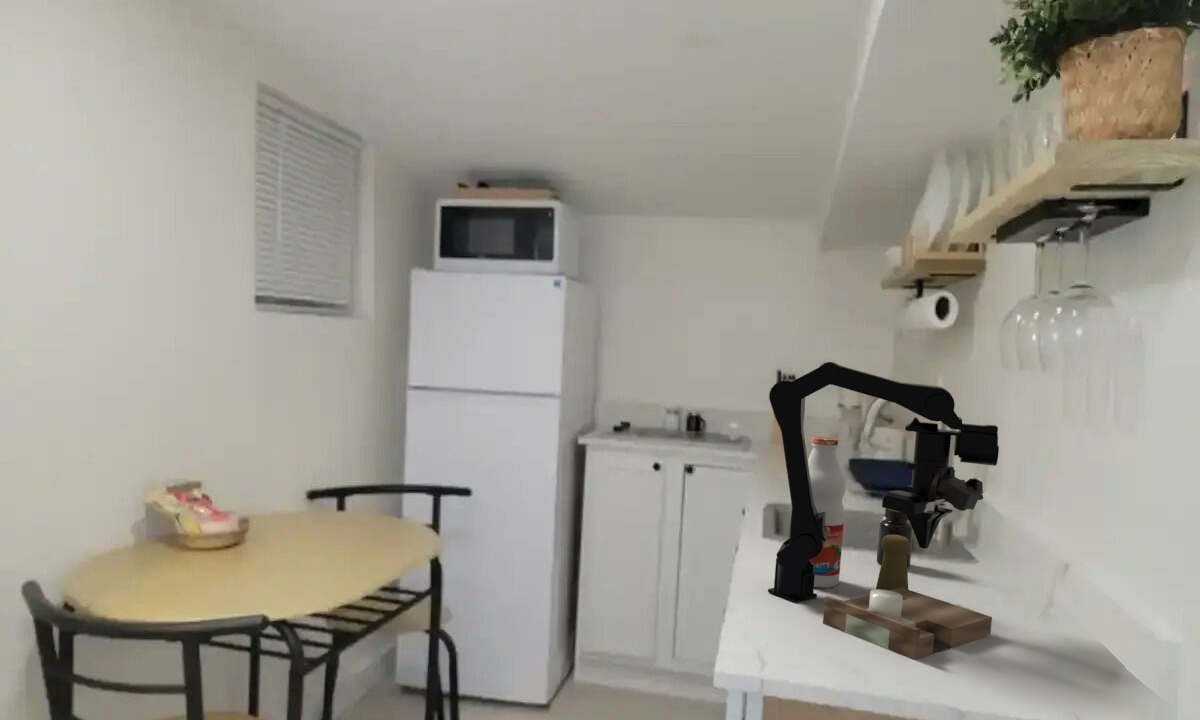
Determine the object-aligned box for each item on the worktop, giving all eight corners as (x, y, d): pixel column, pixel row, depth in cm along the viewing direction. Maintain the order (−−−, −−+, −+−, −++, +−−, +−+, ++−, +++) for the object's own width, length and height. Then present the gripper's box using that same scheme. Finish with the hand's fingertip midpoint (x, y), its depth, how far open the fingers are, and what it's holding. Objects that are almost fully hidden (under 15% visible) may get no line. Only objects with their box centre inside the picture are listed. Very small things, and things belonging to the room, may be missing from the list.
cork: (911, 600, 159) (916, 541, 158) (877, 596, 160) (881, 537, 160) (906, 590, 165) (911, 534, 164) (873, 586, 166) (878, 530, 166)
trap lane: (822, 623, 143) (824, 596, 143) (900, 603, 157) (902, 579, 156) (913, 659, 130) (916, 630, 129) (990, 634, 143) (992, 608, 143)
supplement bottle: (872, 559, 186) (876, 504, 186) (904, 561, 186) (908, 506, 186) (881, 568, 180) (886, 511, 179) (914, 570, 179) (919, 514, 179)
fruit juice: (835, 576, 171) (846, 436, 170) (841, 591, 162) (853, 443, 161) (787, 571, 173) (798, 432, 171) (790, 585, 163) (802, 439, 162)
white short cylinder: (861, 616, 139) (863, 592, 138) (879, 611, 142) (881, 587, 142) (889, 626, 135) (891, 601, 135) (907, 621, 138) (909, 596, 138)
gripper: (944, 470, 137) (935, 567, 138) (1004, 464, 148) (996, 553, 149) (883, 458, 146) (876, 549, 147) (944, 453, 157) (937, 538, 158)
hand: (923, 548), depth 150 cm, fingers closed
